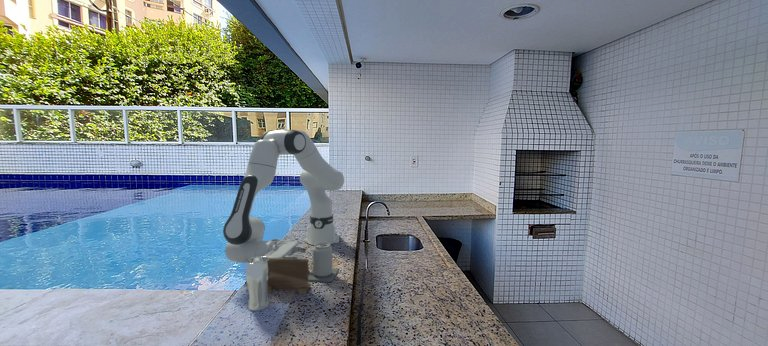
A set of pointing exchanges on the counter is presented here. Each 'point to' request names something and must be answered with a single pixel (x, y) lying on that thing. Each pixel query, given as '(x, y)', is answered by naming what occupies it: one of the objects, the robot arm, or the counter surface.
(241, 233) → the robot arm
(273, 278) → the walnut screen
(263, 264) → the beer glass
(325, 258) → the can
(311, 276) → the slate mat
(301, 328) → the counter surface
